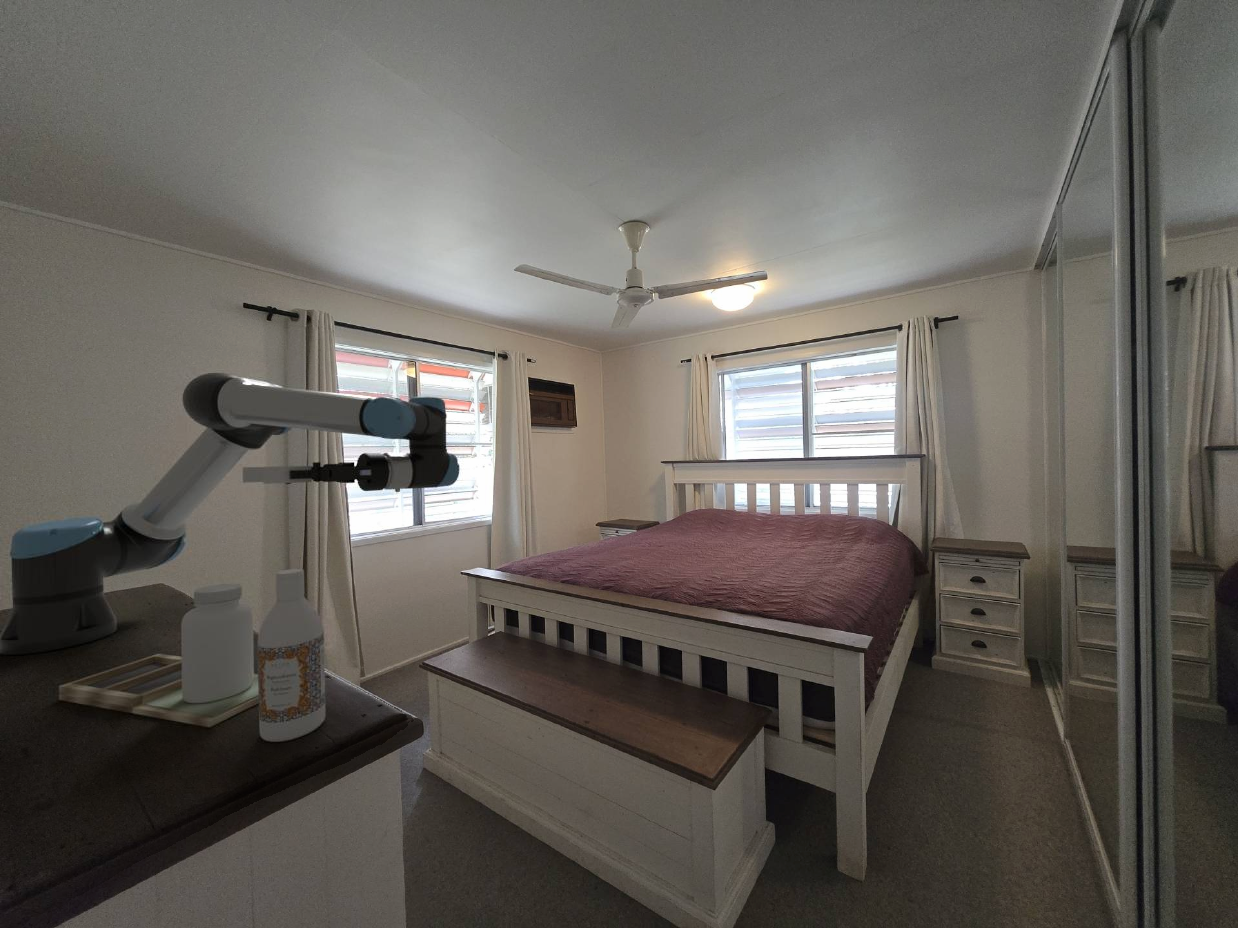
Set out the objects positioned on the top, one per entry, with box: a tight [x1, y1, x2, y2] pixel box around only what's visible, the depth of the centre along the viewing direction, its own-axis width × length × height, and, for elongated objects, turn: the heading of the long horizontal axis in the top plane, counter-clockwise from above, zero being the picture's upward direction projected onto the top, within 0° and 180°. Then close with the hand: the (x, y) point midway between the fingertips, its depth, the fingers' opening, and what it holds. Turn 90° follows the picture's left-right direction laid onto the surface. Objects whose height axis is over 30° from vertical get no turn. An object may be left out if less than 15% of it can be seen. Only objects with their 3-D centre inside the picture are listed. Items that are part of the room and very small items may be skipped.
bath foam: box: [256, 568, 326, 743], centre depth 61 cm, size 7×7×20 cm
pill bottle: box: [180, 583, 255, 703], centre depth 69 cm, size 8×8×15 cm
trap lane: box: [58, 653, 259, 728], centre depth 71 cm, size 30×12×2 cm, turn 74°
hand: (252, 475), depth 80 cm, fingers open, 13 cm apart
